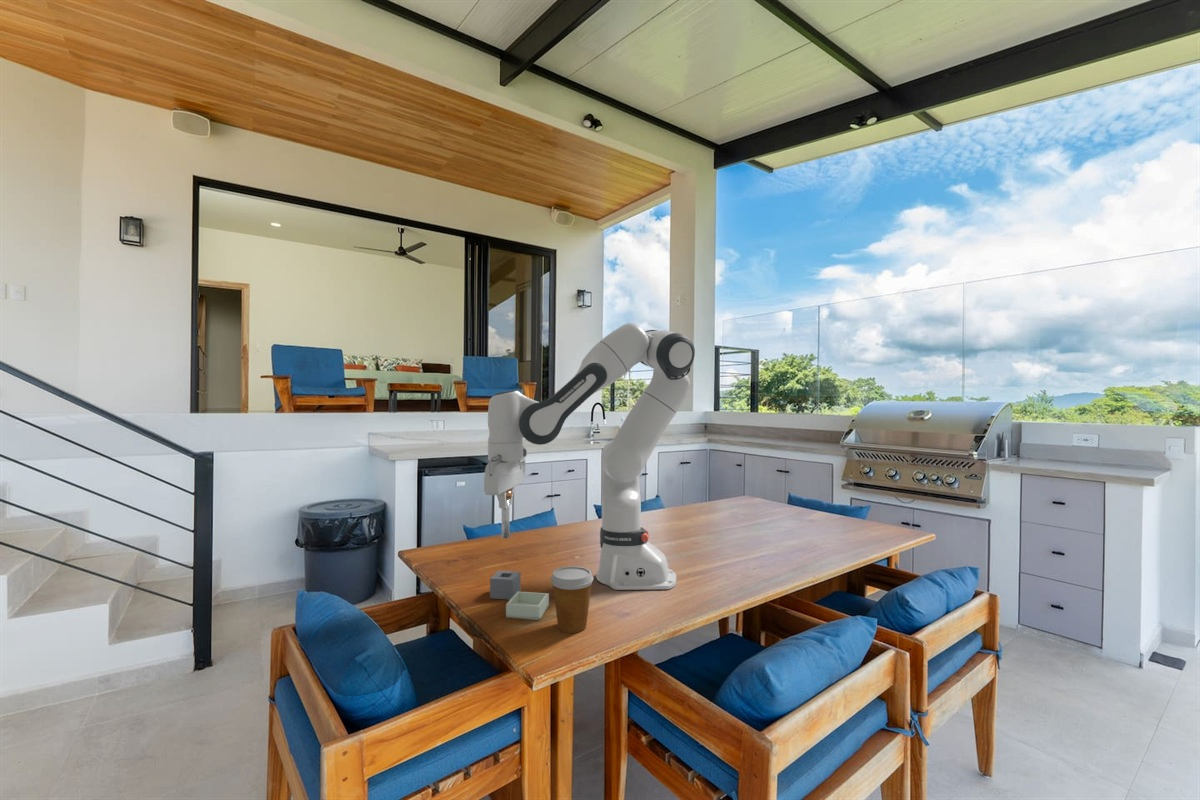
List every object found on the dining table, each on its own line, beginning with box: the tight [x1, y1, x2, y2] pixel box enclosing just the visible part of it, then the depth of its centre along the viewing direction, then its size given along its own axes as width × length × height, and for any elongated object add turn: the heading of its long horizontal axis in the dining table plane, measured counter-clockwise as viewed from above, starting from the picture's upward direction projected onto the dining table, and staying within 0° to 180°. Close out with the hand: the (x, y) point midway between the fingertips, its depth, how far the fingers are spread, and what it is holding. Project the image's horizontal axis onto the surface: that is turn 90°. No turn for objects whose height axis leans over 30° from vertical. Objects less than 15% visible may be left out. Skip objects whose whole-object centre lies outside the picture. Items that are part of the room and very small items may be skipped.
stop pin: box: [501, 490, 513, 539], centre depth 129 cm, size 3×3×12 cm
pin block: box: [489, 570, 522, 601], centre depth 129 cm, size 6×6×5 cm
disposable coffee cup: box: [550, 565, 595, 634], centre depth 111 cm, size 10×10×12 cm
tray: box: [505, 591, 550, 621], centre depth 119 cm, size 8×8×3 cm
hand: (505, 506), depth 129 cm, fingers closed on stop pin, 2 cm apart
